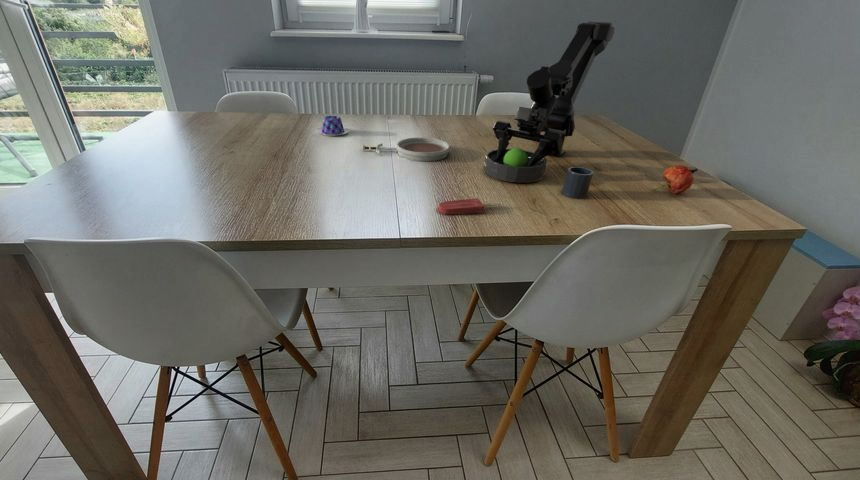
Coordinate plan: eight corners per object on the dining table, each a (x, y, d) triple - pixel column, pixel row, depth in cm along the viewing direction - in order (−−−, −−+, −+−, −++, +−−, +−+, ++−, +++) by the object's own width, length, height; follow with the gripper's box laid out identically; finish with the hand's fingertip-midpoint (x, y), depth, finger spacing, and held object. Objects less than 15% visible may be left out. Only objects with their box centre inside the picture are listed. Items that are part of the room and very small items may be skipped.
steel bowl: (498, 160, 123) (500, 145, 120) (551, 172, 115) (555, 156, 112) (473, 174, 112) (475, 158, 110) (529, 189, 104) (533, 172, 102)
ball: (515, 167, 117) (520, 144, 113) (529, 174, 112) (535, 151, 108) (496, 168, 115) (501, 146, 111) (510, 176, 110) (515, 153, 106)
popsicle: (505, 204, 92) (442, 209, 90) (504, 211, 93) (441, 216, 91) (497, 196, 95) (436, 201, 93) (496, 203, 96) (435, 208, 94)
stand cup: (565, 187, 105) (572, 165, 102) (589, 193, 103) (596, 170, 99) (558, 194, 102) (564, 171, 98) (582, 200, 99) (589, 176, 95)
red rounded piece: (660, 205, 102) (707, 187, 97) (649, 179, 101) (696, 159, 96) (656, 198, 108) (700, 180, 103) (645, 173, 107) (689, 154, 102)
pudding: (348, 137, 140) (347, 121, 137) (313, 136, 140) (312, 121, 137) (351, 128, 150) (350, 113, 147) (318, 127, 150) (317, 112, 147)
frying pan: (364, 135, 134) (449, 137, 132) (364, 144, 136) (448, 146, 134) (356, 151, 120) (452, 153, 118) (357, 161, 122) (451, 163, 120)
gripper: (501, 89, 109) (474, 139, 109) (570, 99, 99) (540, 154, 99) (510, 115, 119) (485, 161, 118) (573, 126, 109) (546, 177, 108)
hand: (512, 163), depth 111 cm, fingers open, 9 cm apart
